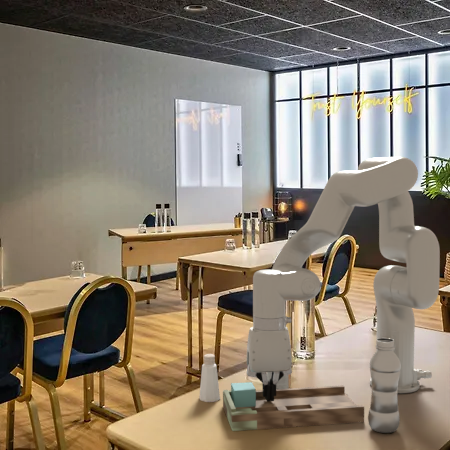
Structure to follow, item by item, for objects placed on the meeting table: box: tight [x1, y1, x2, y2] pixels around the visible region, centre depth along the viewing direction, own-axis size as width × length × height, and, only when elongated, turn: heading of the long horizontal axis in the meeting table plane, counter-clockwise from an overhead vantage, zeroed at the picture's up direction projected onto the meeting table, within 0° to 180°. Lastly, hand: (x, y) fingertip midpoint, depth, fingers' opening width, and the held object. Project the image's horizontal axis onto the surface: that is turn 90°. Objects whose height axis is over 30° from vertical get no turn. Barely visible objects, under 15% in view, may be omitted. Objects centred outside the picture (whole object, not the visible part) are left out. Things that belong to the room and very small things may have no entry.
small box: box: [267, 372, 292, 389], centre depth 158 cm, size 8×6×10 cm
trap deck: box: [222, 384, 365, 432], centre depth 141 cm, size 30×14×4 cm, turn 98°
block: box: [230, 381, 257, 408], centre depth 143 cm, size 5×5×4 cm
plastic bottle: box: [367, 338, 401, 434], centre depth 131 cm, size 6×7×20 cm
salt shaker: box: [198, 353, 221, 403], centre depth 151 cm, size 5×5×11 cm
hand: (269, 399), depth 143 cm, fingers closed
